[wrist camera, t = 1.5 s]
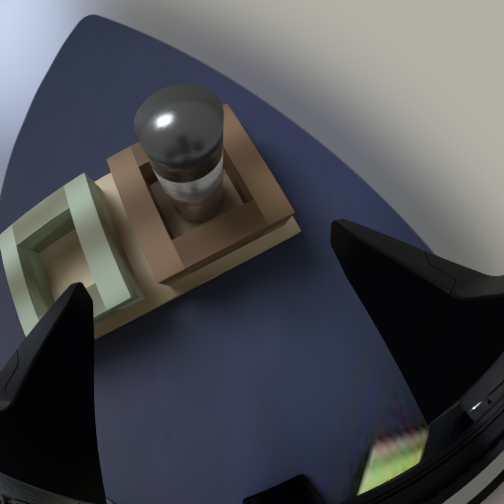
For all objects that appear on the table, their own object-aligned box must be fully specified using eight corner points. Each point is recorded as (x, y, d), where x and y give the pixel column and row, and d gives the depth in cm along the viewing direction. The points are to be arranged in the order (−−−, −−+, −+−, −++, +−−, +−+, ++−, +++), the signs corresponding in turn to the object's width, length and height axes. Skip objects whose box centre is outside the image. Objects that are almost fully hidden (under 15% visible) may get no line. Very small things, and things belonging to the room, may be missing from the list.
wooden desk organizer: (297, 233, 23) (314, 218, 19) (58, 358, 19) (30, 367, 15) (230, 122, 24) (232, 91, 20) (18, 241, 20) (-10, 232, 16)
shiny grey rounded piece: (231, 208, 22) (239, 130, 11) (185, 232, 21) (151, 170, 10) (209, 167, 22) (201, 73, 11) (164, 189, 22) (124, 106, 11)
